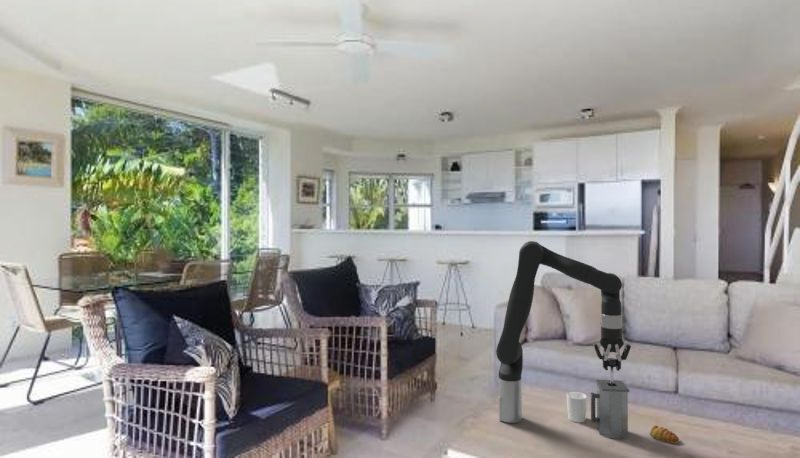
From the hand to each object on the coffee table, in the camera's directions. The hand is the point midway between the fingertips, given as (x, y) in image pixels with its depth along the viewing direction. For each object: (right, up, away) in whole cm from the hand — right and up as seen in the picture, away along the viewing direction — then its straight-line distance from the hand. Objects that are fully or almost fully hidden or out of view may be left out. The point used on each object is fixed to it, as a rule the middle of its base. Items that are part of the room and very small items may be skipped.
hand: (611, 369), depth 181 cm
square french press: (-1, -25, +1) cm, 25 cm away
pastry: (+17, -25, -4) cm, 31 cm away
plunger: (0, -11, 0) cm, 11 cm away
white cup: (-9, -25, +13) cm, 29 cm away
